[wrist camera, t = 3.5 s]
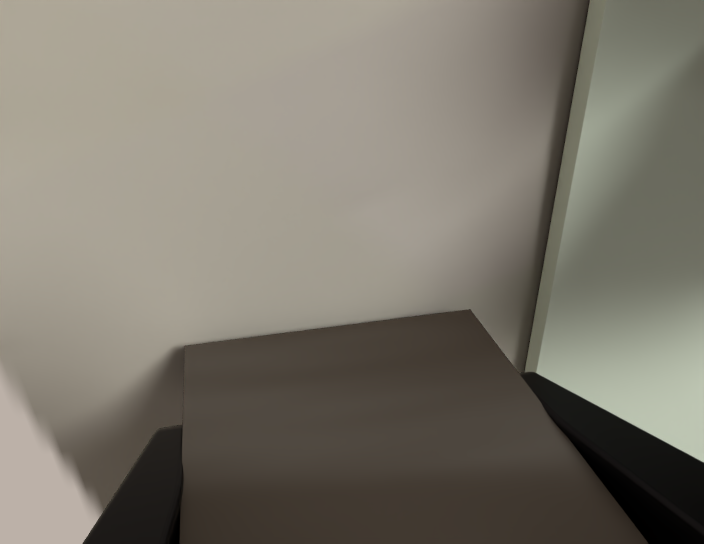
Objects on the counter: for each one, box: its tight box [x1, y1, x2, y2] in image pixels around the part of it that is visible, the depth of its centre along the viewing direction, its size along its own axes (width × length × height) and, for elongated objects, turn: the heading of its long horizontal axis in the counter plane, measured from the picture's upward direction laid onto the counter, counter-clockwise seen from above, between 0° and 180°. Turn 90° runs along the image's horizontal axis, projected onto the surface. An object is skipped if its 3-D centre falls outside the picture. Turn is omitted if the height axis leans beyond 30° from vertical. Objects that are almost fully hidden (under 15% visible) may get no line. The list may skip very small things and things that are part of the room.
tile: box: [180, 309, 649, 544], centre depth 8 cm, size 1×5×7 cm, turn 90°
